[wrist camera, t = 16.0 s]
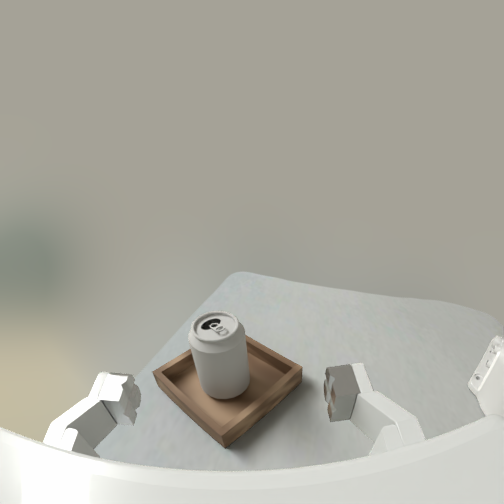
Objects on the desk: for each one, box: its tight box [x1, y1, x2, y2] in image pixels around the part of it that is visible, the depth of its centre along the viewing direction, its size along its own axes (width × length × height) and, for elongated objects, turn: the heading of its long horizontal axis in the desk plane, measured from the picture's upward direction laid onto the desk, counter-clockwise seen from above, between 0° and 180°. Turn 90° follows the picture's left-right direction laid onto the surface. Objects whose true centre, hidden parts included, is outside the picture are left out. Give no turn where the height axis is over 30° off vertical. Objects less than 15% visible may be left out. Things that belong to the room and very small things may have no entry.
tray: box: [153, 335, 302, 448], centre depth 44 cm, size 16×16×4 cm
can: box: [188, 311, 250, 399], centre depth 41 cm, size 8×8×12 cm
